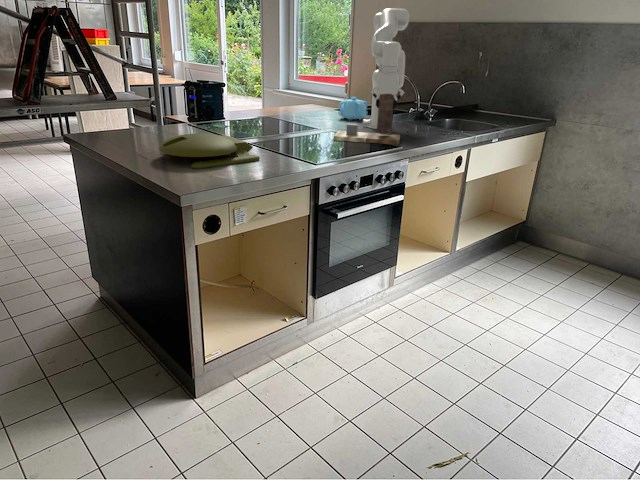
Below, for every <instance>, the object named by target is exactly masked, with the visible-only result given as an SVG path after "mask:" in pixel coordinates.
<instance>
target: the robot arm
mask: <svg viewBox="0 0 640 480" xmlns="http://www.w3.org/2000/svg"><path fill="white" fill-rule="evenodd" d="M409 22H410V13H409V10H407V9H406V8H396V7H395V8H392V7H390V8H385V9H383V10H382V11H381V12H378V13H376V14H375V15H374V17H373V30H374V34H373V36H372V38H371V54H372V57H374V58H375V63H376V65H377V67H378V69H376V70H374V71H373V72H372V75H371V76H372V77H371V78H372V81H371V82H372V89H371V90H370V93H371V94H372V95H371V96H372V99H371V111H370V112H371V114H370V119H362V123H363V124H367V128H368V129H374V130H377V121H378V109H379V97H380V95H382V94H392V95H394V105H393V110H395V109H396V108H397V105H398V104H397V103H398V101H399V100H400V99H401V98H402V97H403V95H404V94H405V91H404V90H403V89H401V88H402V87H403V86H404V82H405V70H406V53H405V51H404V49H402V45H401V43H400V42H399V41H393V40H394V38H395V37H396V36H397V34H398V32H399V31H404V30H406V29H407V28H408V25H409ZM398 92H399V94H398Z"/></svg>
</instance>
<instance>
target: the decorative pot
mask: <svg viewBox="0 0 640 480" xmlns="http://www.w3.org/2000/svg"><path fill="white" fill-rule="evenodd" d="M350 98H351V99H344V100H342V101H340V102H339V104H338V107H339V111H338V112H337V114H338V116H341V118H343V119H344V118H346V119H345V120H348V121H350V120H351V121H353V120H357V119H359V120H358V121H362V120H364V119H365V118H366V116H367V115H368V113H369V112H368V110H367V108H368V105H369V104H368V102H367V101H366V100H362V99H358V98H357V96H351V97H350Z"/></svg>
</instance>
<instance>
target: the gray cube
mask: <svg viewBox="0 0 640 480" xmlns="http://www.w3.org/2000/svg"><path fill="white" fill-rule="evenodd" d="M358 127H359V124H358V123H349V122H347V124H346V130H345V131H346V135H355V136H356V135H357V132H358Z"/></svg>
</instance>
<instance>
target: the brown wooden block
mask: <svg viewBox="0 0 640 480" xmlns="http://www.w3.org/2000/svg"><path fill="white" fill-rule="evenodd" d="M394 99H395V98H394V95H392V94H382V95H380V97H379V109H378V121H377V129H376V133H380V134H387V135H391V134H392V133H393V132H392V131H393V130H392V128H393V118H394V117H393V115H394V109H393V105H394Z"/></svg>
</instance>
